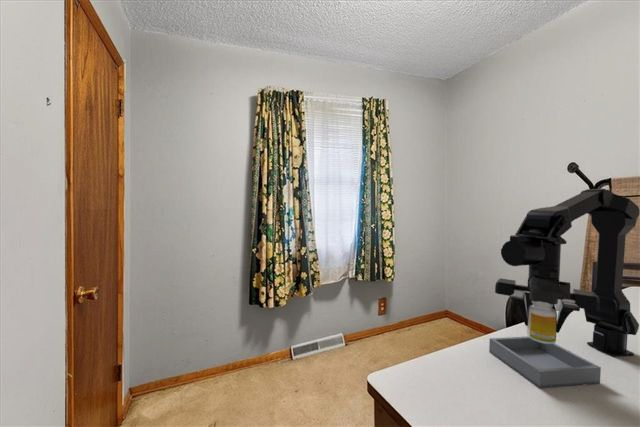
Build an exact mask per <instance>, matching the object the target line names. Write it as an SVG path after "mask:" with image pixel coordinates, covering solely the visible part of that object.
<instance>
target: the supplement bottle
mask: <svg viewBox="0 0 640 427" xmlns="http://www.w3.org/2000/svg"><path fill="white" fill-rule="evenodd" d="M531 303H532V304H530V305H529V306H528V307H527V315H528V326H526V328H527V330H526V332H527V333H526V336H528V337H529V338H530V339H532V340H534V341H537V342H540V343H544V344H554V343H555V344H556V342H557V332H556V326H557V317H558V312H557V311H556V310H555V309H554V308H553V307H554V305H553V304H549V303H545V302H540V301H538V302H535V301H532V300H531Z"/></svg>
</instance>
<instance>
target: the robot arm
mask: <svg viewBox="0 0 640 427" xmlns="http://www.w3.org/2000/svg"><path fill="white" fill-rule="evenodd" d="M586 214H587V215H589V216H590V222H591V225H592V226H593V228H595V230H596V232H597V233H598V242H597V243H598V245H597V256H596V257H597V260H596V275H595V276H596V277H595V287H594V288H593V289H592V290H583V289H576V288H572V292H571V282H569V281H568V282H567V281H560V279H561V278H560V274H561V272H560V271H561V248H562V245H566V244H567V240H565V239H564V238H563V237H562V235H564V234H566V232H568V231H569V230H570V229H571V228H572V226H573V225H572V222H573V221H575V220H577V219H579V218H581V217H582V216H585V215H586ZM639 215H640V207H639V205H637V204H636V203H635V202H634V201H632V199H630V198H628V197H626V196H625V197H624V196H622V195H618V194H617V193H614V192H613V191H612V190H610V189H607V188H592V189H591V188H587V189H584V190H582V191H581V192H580V193H578V194H576V195H574V196H572V197H570V198H568V199H566V200H564V201H562V202H560V203H558V204H556V205H553V206H547V207H545V206H544V207H539V208H534V209H531V210H528V212H527V213H526V215H525V217H524V219H523V221H522V222H521V223H520V226H519V227H518V230H516V232H515V235H514V234H513V235H509V240H508V241H506V242H505V243H504V244H503V245H502V247H501V248H500V255H501V257H502V260H503V261H504V262H505V264H507V265H509V266H512V267H521V266H522V267H523V266H528V277H527V285H522V284H517V281H516V280H513V279H507V278H501V277H500V278H499V279H497V281H496V282H495V286H494V288H495V289H494V291H495V292H494V293H495V294H498V295H503V296H508V297H509V299H510V300H513V301H515V303H516V304H517V306H518V308H519V310H520V311H519V312H520V313H521V316H522V319H523V322H524V325H525V327H527V326H528V307H527V299H526V298H527V297H526V295H529V300H530V301H531V302H532V301H535V302H538V301H540V302H545V303H549V304H553V306H555V305H557V304H558V302H559V300H560V303H559V308H558V312H557V326H556V334H560V331H561V329H562V328H563V325H564V324H565V321H566V320H567V318H569V316H570V314H572V313H573V312H574V311H575V312H580V310H581V309H583V311H584V317H585V321H586V322H588V323H590V324H593V325H594V326H593V332H592V341H587V342H586V344H587V345H588V346H590V347H592V348H595V349H597V350H599V351H600V352H603V353H605V354H607V355H610V356H612V357H621V356H623V357H624V356H625V357H626V356H634V355H635V354H634V352H633V351H631V350H629V349H628V335H632V336H636V335H637V333H638V331H639V328H640V327H639V326H640V324H639V322H638V320H637V319H636V318H635V316H634V315H633V313H632V312H631V303H630V301H629V299H628V297H626V295H625V294H624V292H623V276H624V263H625V250H626V249H625V248H626V236H627V234H629V233H630V232H631V231H632V229H634V228H635V227H636V226H637V225H636V224H637V220H638V218H639V217H640V216H639Z"/></svg>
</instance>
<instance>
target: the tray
mask: <svg viewBox="0 0 640 427" xmlns="http://www.w3.org/2000/svg"><path fill="white" fill-rule="evenodd" d="M488 348H489V350H488V351H489V353H490V354H491V355H493V356H494V357H495V358H497V359H498V360H500V361H501V362H503V363H504V364H505V365H507V366H508V367H509V368H511V369H512V371H513V370H514V371H515V372H516V373H518V374H519V375H520V376H522V377H523V378H524V379H526V380H527V381H528V382H530V383H531V384H532V385H534V386H535V387H537V388H538V389H550V388H551V389H552V388H554V389H555V388H563V387H565V388H566V387H577V386H590V385H600V384H601V375H602V374H601V370H602V368H601V367H600V366H599V365H596V364H595V363H593V362H592V361H589V360H587V359H585V358H583V357H581V356H580V355H579V354H578V355H577V354H576V353H574V352H572V351H570V350H569V349H566V348H564V347H562V346H561V345H559V344H557V343H556V342H555V343H554V344H544V343H540V342H537V341H534V340H532V339H530V338H529V337H528V335H526V336H514V337H513V336H511V337H510V336H509V337H490V338H489V346H488Z"/></svg>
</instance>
